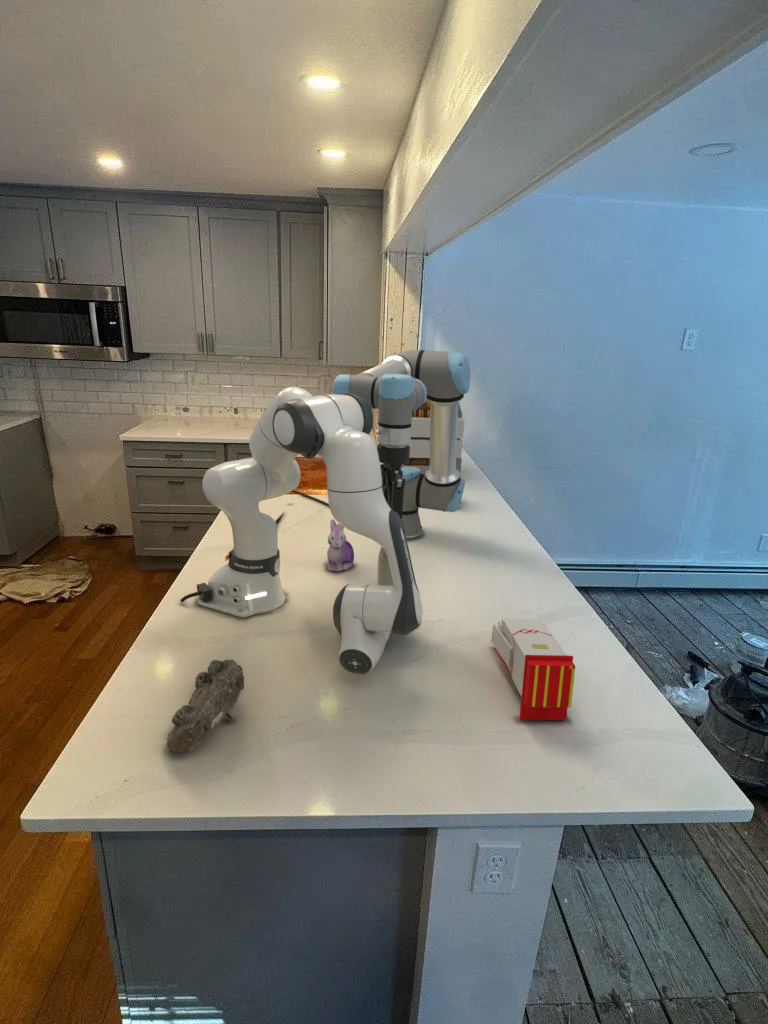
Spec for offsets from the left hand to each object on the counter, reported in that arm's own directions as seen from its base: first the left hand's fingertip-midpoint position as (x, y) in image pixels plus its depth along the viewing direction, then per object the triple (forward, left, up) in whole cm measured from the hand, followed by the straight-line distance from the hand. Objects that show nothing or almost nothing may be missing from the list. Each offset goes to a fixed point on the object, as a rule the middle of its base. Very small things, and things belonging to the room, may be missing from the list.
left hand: (386, 596), depth 143 cm
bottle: (0, -1, -6) cm, 6 cm away
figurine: (-20, +26, -6) cm, 34 cm away
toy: (+35, -16, -6) cm, 39 cm away
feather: (-53, +61, -6) cm, 81 cm away
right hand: (0, -1, +16) cm, 16 cm away
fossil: (-24, -45, -6) cm, 51 cm away
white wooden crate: (-14, +138, -6) cm, 139 cm away
